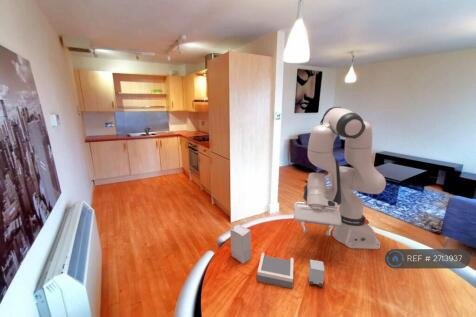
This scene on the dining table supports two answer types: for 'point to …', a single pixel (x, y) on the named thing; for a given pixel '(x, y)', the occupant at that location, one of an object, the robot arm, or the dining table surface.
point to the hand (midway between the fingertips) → (316, 233)
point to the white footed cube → (316, 272)
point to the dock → (275, 271)
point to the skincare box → (241, 243)
